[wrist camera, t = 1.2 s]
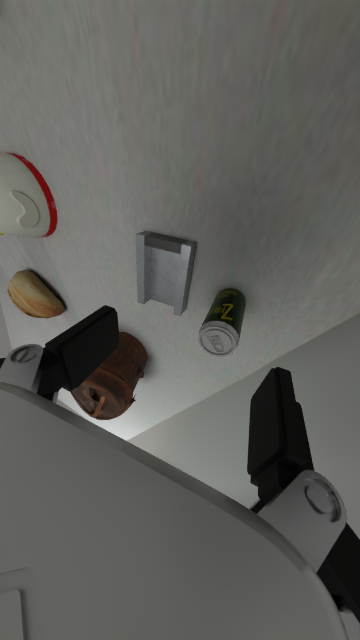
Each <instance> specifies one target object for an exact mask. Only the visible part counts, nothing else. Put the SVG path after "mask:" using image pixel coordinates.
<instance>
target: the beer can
mask: <svg viewBox="0 0 360 640" xmlns="http://www.w3.org/2000/svg"><path fill="white" fill-rule="evenodd" d="M245 305H246V302H245V298H244V296H243V295H242V294H241V293H240V292H239V291H236V290H233V289H226V290H223V291H221V292H220V293H219V294H217V296H216V298H215V300H214V302H213V304H212V306H211V308H210V310H209V312H208V314H207V316H206V318H205V320H204V322H203V324H202V326H201V328H200V330H199V338H198V341H199V344H200V346H201V347H202V349H203V350H205V351H206V352H207V353H209V354H211V355H214V356H218V357H224V356H228V355H230V354H231V353H233V351H234V350H235V348H236V347H237V345H238V342H239V338H240V332H241V327H242V321H243V316H244V311H245Z"/></svg>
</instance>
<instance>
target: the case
mask: <svg viewBox="0 0 360 640" xmlns="http://www.w3.org/2000/svg"><path fill="white" fill-rule="evenodd" d="M146 360H147V355H146V351H145V349H144V347H143V346H142V344H141V343H140V342H139V341H138V340H137V339H136V338H134V337H133V336H131V335H129V334H127V333H123V332H119V346H118V348H117V349H116V350H115V351H114V352H113V353H112V354H111V355H110V356H109V357H108V358H107V359H106V360H105V361H104V362H103V363H102V364H101V365H100V366H99V367H98V368H97V369H96V370H95V371H94V372H93V373H92V374H91V375H90V376H89V377H88V378H87V379H86V380H85V381H84V382H83V383H82V384H81V385H80V386H79V387H77V388H74V389H73V390H72V391H71V394H72V396H73V397H74V399H75V400H76V402H77V403H78V405H79V406H80V407H81V408H82V409H83V410H84V411H85V412H86V413H87V414H88V415H89V416H91V417H93V418H96V419H98V420H110V419H113V418H116V417H118V416H120V415H122V414H123V413H124V412H125V411H126V410H127V409H128V408H129V407H130V406H131V405H132V403H133V402H134V401H135V400H134V397H135V396H134V397H133V391H134V389H135V387H136V385H137V382H138V380H139V378H143V377H144V373H143V372H142V371H143V369H144V366H145V364H146ZM132 397H133V398H132Z"/></svg>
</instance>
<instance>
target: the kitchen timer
mask: <svg viewBox="0 0 360 640" xmlns="http://www.w3.org/2000/svg"><path fill="white" fill-rule="evenodd" d="M56 225H57V210H56V206H55V202H54V199H53V196H52V194H51V192H50V189H49V187H48V185H47V183H46V182H45V180H44V179H43V177H42V175H41V174H40V173H39V171H38V170H37V169H36V168H35V167H34V166H33V164H31V163H30V162H29V161H27V160H26V159H25V158H24V157H21V156H19V155H16V154H11V153H5V152H0V235H4V234H8V235H14V236H22V237H33V238H38V237H45V236H49V235H51V234H53V232H54V231H55V229H56Z"/></svg>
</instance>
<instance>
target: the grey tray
mask: <svg viewBox="0 0 360 640" xmlns="http://www.w3.org/2000/svg"><path fill="white" fill-rule="evenodd" d="M196 245H197V243H196V242H192V241H187V240H183V239H178V238H174V237H170V236H165V235H161V234H156V233H152V232H147V231H144V232H141V233H137V234H136V248H137V288H138V302H139V303H142V304H145V303H146V302H147V301H148V300H150V299H152V300H156V301H159V302H162V303H165V304H168V305H171V306H174V313H173V314H175V315H178V316H181V315H182V313H183V312H184V311H185V309H186V305H187V299H188V293H189V287H190V281H191V275H192V269H193V263H194V257H195V251H196Z"/></svg>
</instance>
